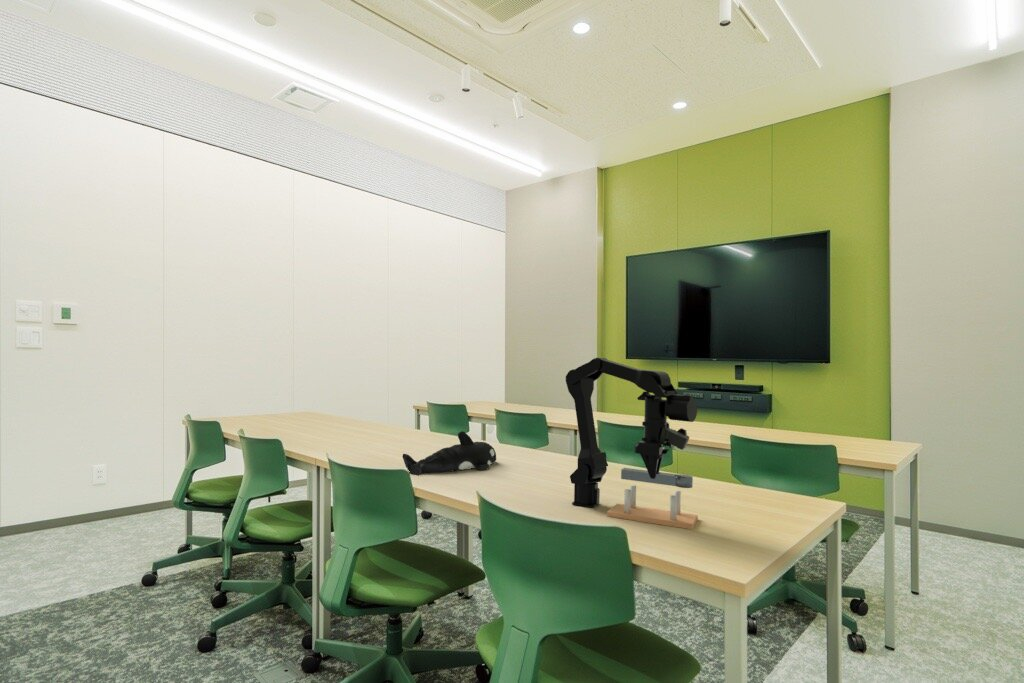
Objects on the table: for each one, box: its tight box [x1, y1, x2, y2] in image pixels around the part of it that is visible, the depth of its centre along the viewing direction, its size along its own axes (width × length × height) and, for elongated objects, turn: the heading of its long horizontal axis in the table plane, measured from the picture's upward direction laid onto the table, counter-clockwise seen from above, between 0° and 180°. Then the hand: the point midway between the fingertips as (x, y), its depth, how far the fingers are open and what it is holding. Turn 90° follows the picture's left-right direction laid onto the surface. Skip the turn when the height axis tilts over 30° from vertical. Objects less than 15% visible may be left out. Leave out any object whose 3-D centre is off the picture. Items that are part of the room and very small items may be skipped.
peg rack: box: [606, 484, 699, 530], centre depth 142 cm, size 22×10×7 cm, turn 64°
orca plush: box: [402, 430, 497, 477], centre depth 205 cm, size 21×41×14 cm, turn 120°
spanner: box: [620, 467, 694, 489], centre depth 139 cm, size 18×4×2 cm, turn 62°
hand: (654, 477), depth 140 cm, fingers closed on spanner, 3 cm apart
